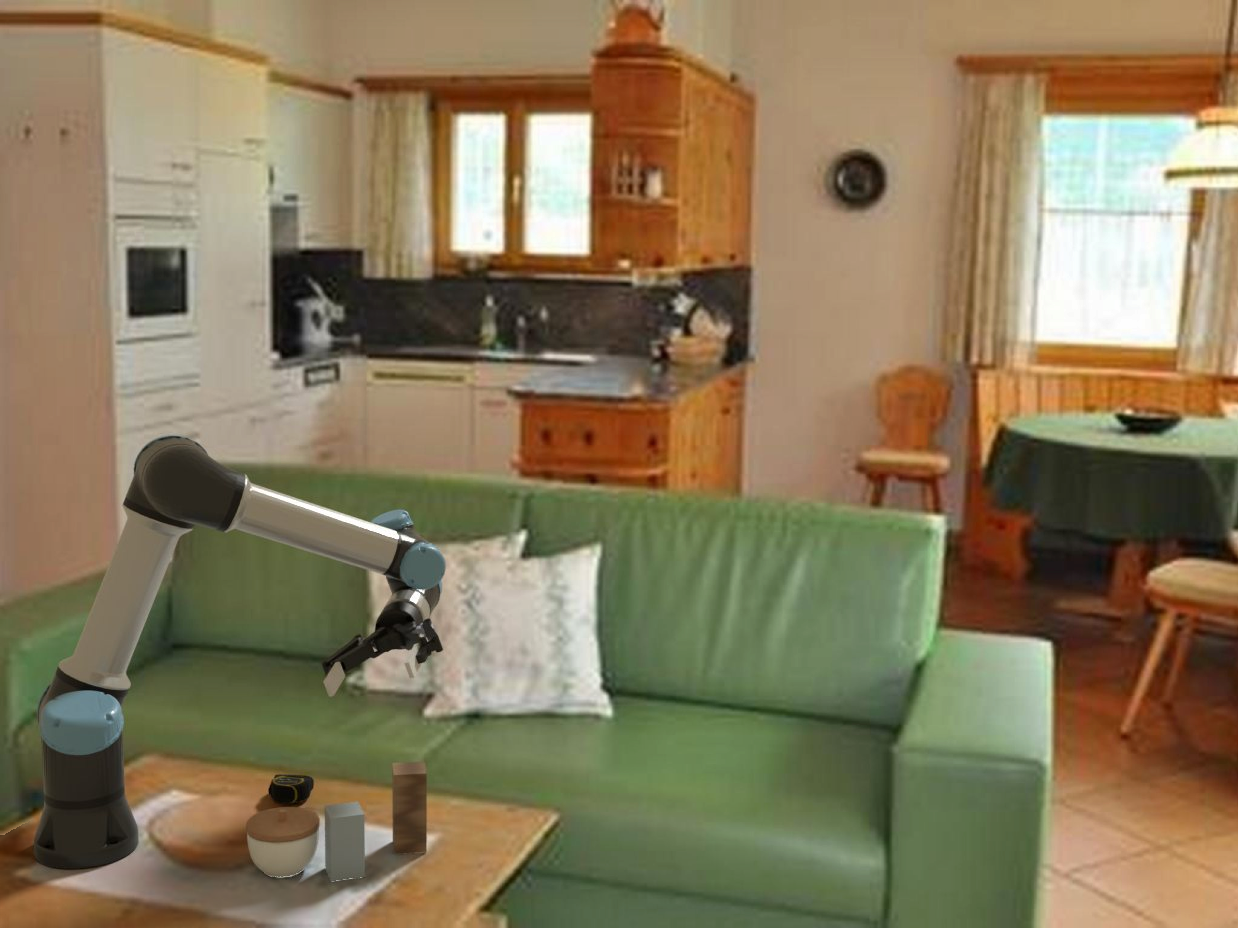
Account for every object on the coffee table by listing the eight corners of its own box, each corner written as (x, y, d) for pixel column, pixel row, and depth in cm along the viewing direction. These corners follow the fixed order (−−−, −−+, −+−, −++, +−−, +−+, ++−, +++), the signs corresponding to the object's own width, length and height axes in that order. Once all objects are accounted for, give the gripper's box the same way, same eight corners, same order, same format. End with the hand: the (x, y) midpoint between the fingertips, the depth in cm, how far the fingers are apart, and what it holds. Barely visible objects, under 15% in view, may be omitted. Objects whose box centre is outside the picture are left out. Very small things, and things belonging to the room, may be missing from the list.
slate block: (331, 882, 208) (330, 818, 207) (325, 867, 213) (324, 805, 211) (364, 877, 210) (364, 813, 209) (358, 863, 215) (357, 801, 213)
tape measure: (315, 793, 241) (315, 772, 241) (304, 808, 235) (304, 787, 234) (276, 791, 242) (275, 770, 241) (264, 807, 235) (263, 785, 234)
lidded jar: (302, 889, 206) (301, 828, 205) (234, 880, 208) (233, 821, 207) (331, 857, 216) (330, 800, 215) (266, 850, 219) (265, 793, 217)
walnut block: (394, 854, 218) (393, 774, 216) (392, 841, 223) (392, 762, 221) (426, 852, 219) (426, 773, 217) (424, 839, 224) (424, 761, 222)
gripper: (478, 624, 237) (451, 683, 217) (342, 655, 241) (303, 716, 221) (464, 584, 235) (435, 640, 215) (327, 616, 239) (286, 675, 219)
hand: (368, 679), depth 218 cm, fingers open, 13 cm apart
